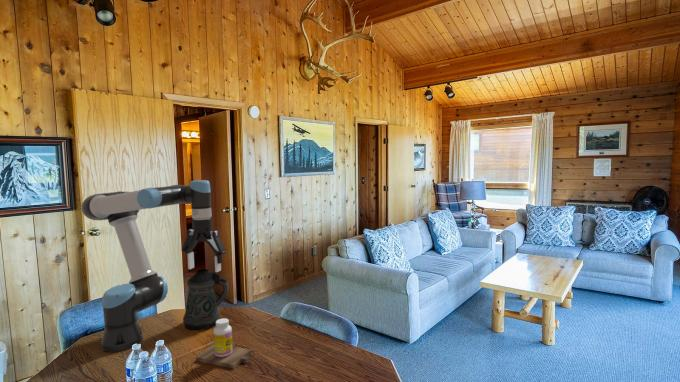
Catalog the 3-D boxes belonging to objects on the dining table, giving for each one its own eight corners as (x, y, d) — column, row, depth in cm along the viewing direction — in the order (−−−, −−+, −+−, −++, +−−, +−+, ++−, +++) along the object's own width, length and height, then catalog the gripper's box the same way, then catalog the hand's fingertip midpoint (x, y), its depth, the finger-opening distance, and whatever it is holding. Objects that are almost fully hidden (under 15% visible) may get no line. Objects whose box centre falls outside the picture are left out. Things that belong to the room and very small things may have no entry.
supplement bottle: (227, 358, 137) (225, 325, 136) (211, 357, 138) (209, 324, 137) (235, 349, 143) (234, 317, 142) (220, 348, 145) (218, 316, 144)
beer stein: (178, 323, 172) (174, 270, 169) (217, 311, 185) (215, 262, 183) (191, 335, 159) (188, 278, 157) (233, 321, 173) (230, 269, 170)
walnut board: (196, 360, 139) (195, 357, 139) (215, 346, 149) (215, 343, 149) (239, 369, 132) (239, 365, 132) (256, 354, 142) (256, 350, 142)
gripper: (170, 218, 149) (173, 269, 151) (221, 221, 141) (224, 275, 143) (184, 215, 157) (187, 264, 158) (233, 218, 148) (235, 269, 150)
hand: (204, 269), depth 151 cm, fingers open, 13 cm apart
